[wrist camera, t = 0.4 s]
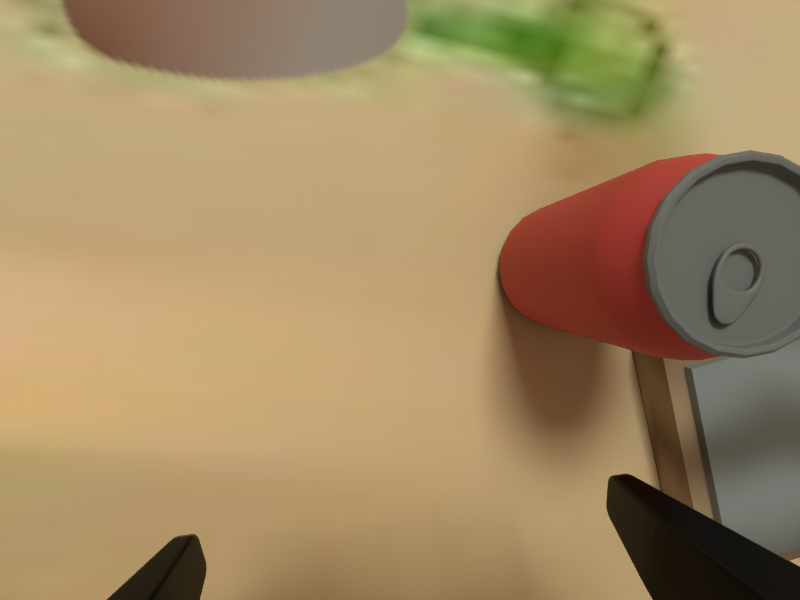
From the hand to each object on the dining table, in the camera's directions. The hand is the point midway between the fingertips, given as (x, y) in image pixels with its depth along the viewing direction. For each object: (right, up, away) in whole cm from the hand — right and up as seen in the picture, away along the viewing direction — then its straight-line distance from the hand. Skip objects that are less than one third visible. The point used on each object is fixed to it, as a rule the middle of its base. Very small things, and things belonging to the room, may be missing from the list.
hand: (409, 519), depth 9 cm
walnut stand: (+21, -3, +15) cm, 26 cm away
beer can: (+8, +7, +14) cm, 18 cm away
